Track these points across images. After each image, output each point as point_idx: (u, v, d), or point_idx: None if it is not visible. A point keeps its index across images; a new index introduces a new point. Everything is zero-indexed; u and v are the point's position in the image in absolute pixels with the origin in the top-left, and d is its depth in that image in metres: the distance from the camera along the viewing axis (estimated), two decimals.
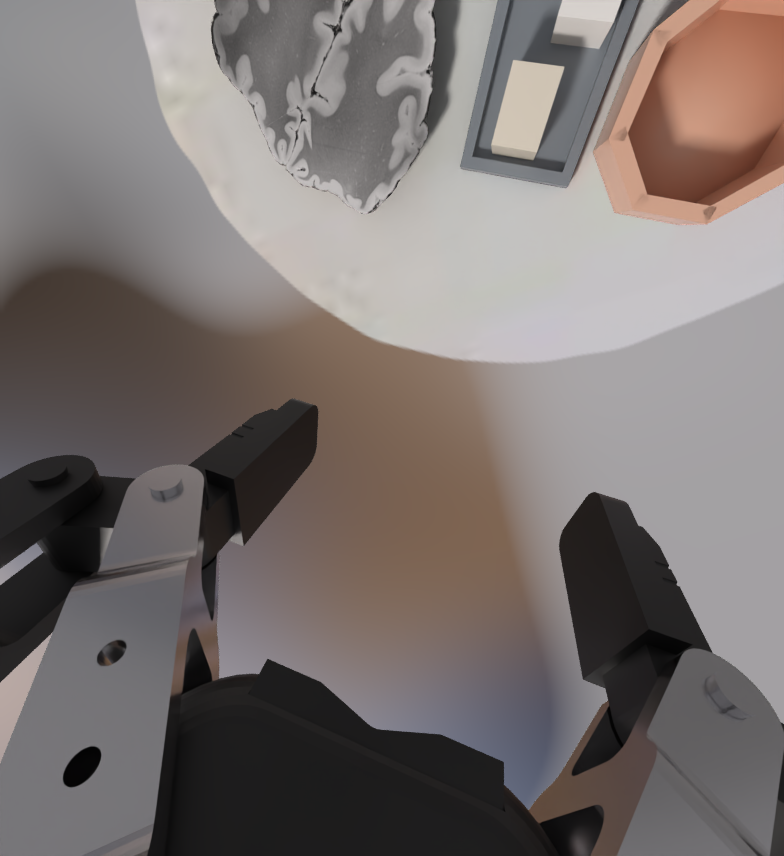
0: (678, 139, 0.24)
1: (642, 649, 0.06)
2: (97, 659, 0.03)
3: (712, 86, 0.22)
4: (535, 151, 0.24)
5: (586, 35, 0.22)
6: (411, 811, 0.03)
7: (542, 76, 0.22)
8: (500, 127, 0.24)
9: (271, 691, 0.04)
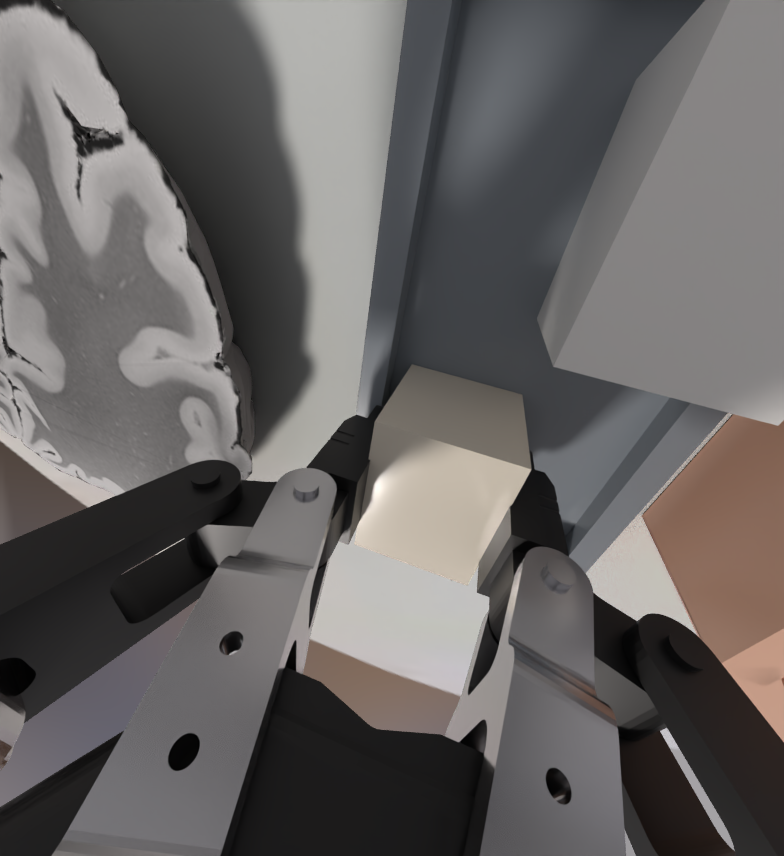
0: None
1: (511, 555, 0.07)
2: (220, 644, 0.04)
3: None
4: (463, 582, 0.09)
5: None
6: (411, 811, 0.03)
7: (465, 471, 0.07)
8: (368, 526, 0.09)
9: None
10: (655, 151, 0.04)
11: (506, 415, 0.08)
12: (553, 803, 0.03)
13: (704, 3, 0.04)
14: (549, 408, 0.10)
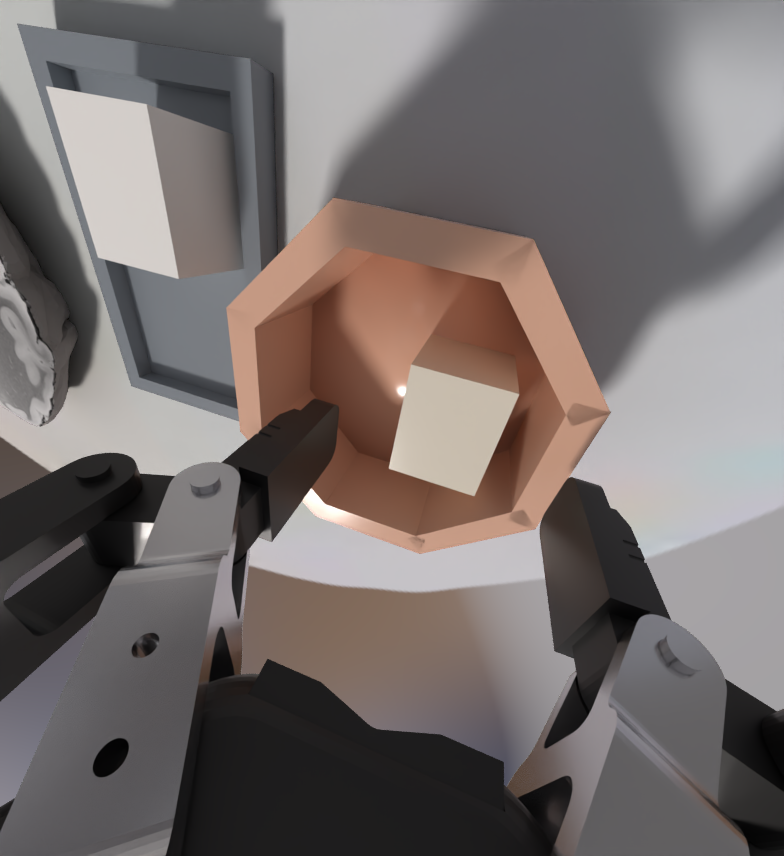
0: (394, 397, 0.15)
1: (606, 618, 0.06)
2: (132, 649, 0.04)
3: (416, 341, 0.13)
4: (471, 493, 0.12)
5: None
6: (411, 811, 0.03)
7: (474, 399, 0.10)
8: (400, 451, 0.12)
9: (271, 691, 0.04)
10: None
11: (502, 366, 0.11)
12: None
13: None
14: (212, 311, 0.16)
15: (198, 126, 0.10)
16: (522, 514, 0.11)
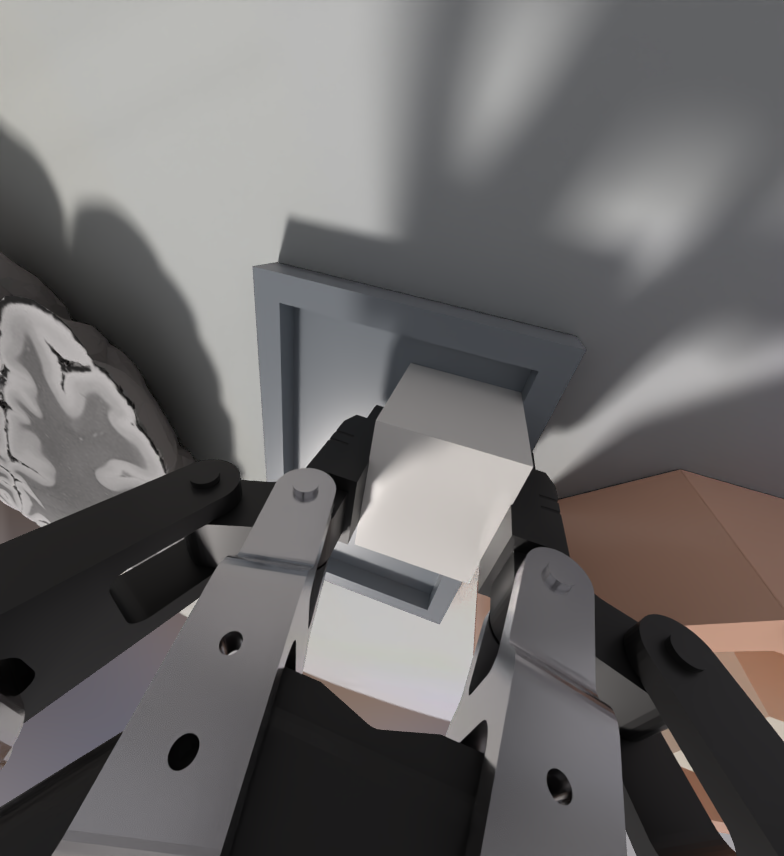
0: None
1: (512, 555, 0.07)
2: (219, 643, 0.04)
3: None
4: None
5: None
6: (411, 811, 0.03)
7: None
8: None
9: None
10: None
11: None
12: (555, 805, 0.03)
13: (388, 400, 0.08)
14: None
15: None
16: None
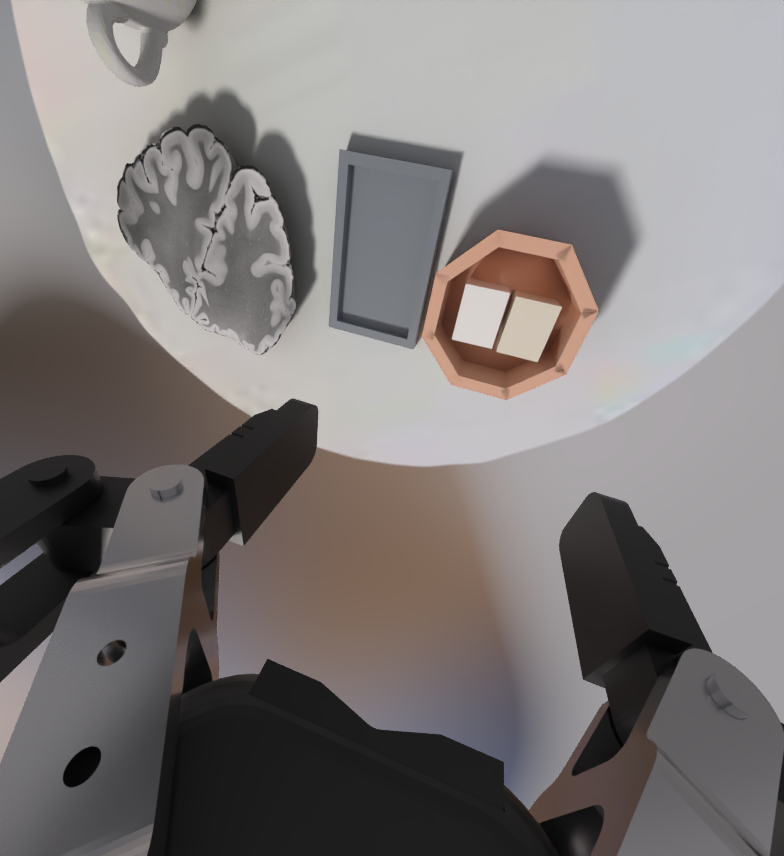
0: None
1: (642, 649, 0.06)
2: (97, 659, 0.03)
3: None
4: (536, 361, 0.26)
5: None
6: (411, 811, 0.03)
7: (542, 311, 0.24)
8: (504, 341, 0.26)
9: (271, 691, 0.04)
10: (461, 304, 0.26)
11: (552, 300, 0.26)
12: None
13: None
14: (392, 280, 0.30)
15: None
16: (560, 366, 0.26)
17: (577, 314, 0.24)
